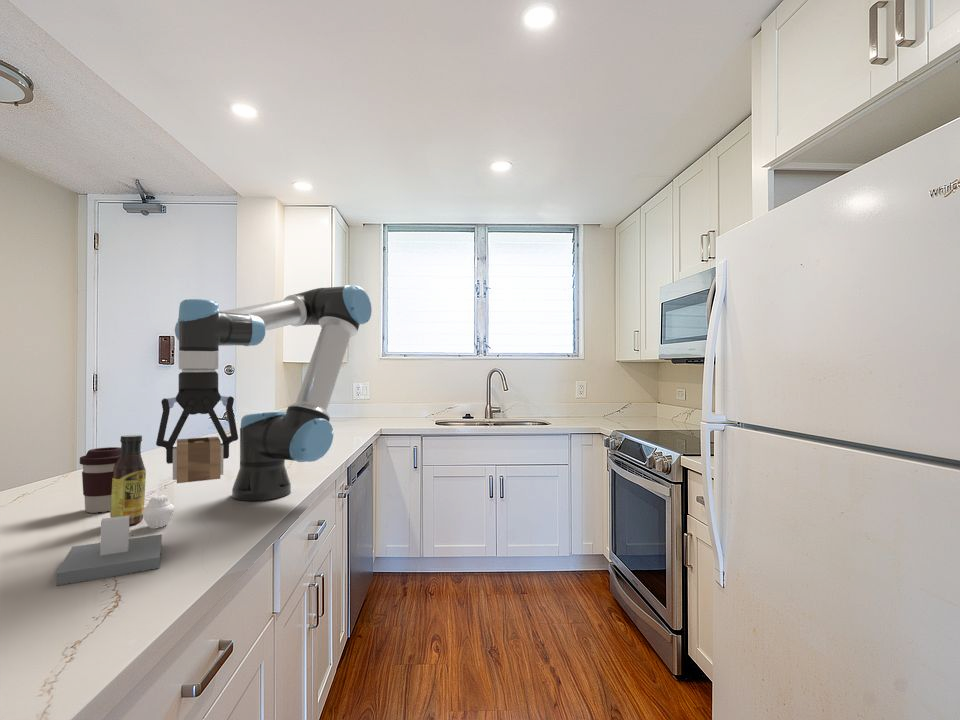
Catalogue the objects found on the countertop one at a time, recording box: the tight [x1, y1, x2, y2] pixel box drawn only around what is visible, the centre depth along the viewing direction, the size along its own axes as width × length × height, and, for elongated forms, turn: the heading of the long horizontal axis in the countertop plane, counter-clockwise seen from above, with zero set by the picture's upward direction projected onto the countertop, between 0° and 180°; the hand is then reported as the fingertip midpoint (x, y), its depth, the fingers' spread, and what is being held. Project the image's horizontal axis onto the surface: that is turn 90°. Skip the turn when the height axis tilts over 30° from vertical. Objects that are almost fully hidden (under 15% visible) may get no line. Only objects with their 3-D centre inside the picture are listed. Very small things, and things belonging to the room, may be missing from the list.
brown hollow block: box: [176, 436, 222, 484], centre depth 107 cm, size 8×8×8 cm
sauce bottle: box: [109, 434, 147, 526], centre depth 113 cm, size 7×6×20 cm
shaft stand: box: [55, 515, 163, 587], centre depth 89 cm, size 14×14×8 cm
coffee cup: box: [79, 446, 121, 514], centre depth 123 cm, size 10×10×15 cm
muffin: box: [142, 494, 175, 529], centre depth 110 cm, size 6×6×7 cm
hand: (198, 475), depth 107 cm, fingers closed on brown hollow block, 8 cm apart
